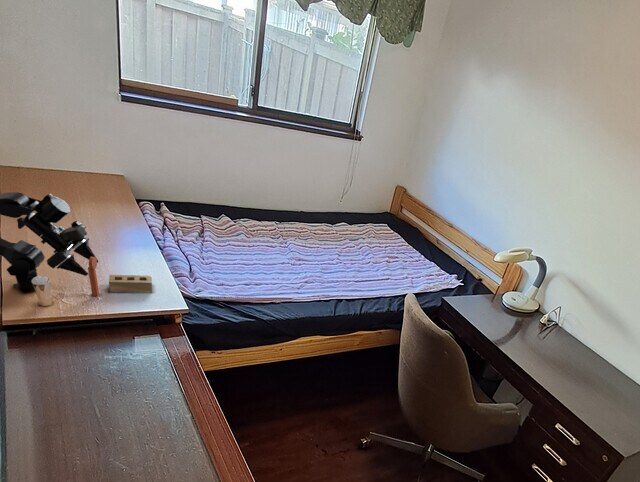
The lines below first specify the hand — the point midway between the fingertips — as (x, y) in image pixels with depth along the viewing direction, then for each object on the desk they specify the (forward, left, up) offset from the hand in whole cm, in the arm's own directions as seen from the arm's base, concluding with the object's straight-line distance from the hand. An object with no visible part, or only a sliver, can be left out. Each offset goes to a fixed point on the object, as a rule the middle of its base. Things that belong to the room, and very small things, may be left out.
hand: (92, 268), depth 147 cm
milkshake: (-3, -14, -10) cm, 17 cm away
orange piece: (0, 0, -10) cm, 10 cm away
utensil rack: (+2, +11, -10) cm, 15 cm away
